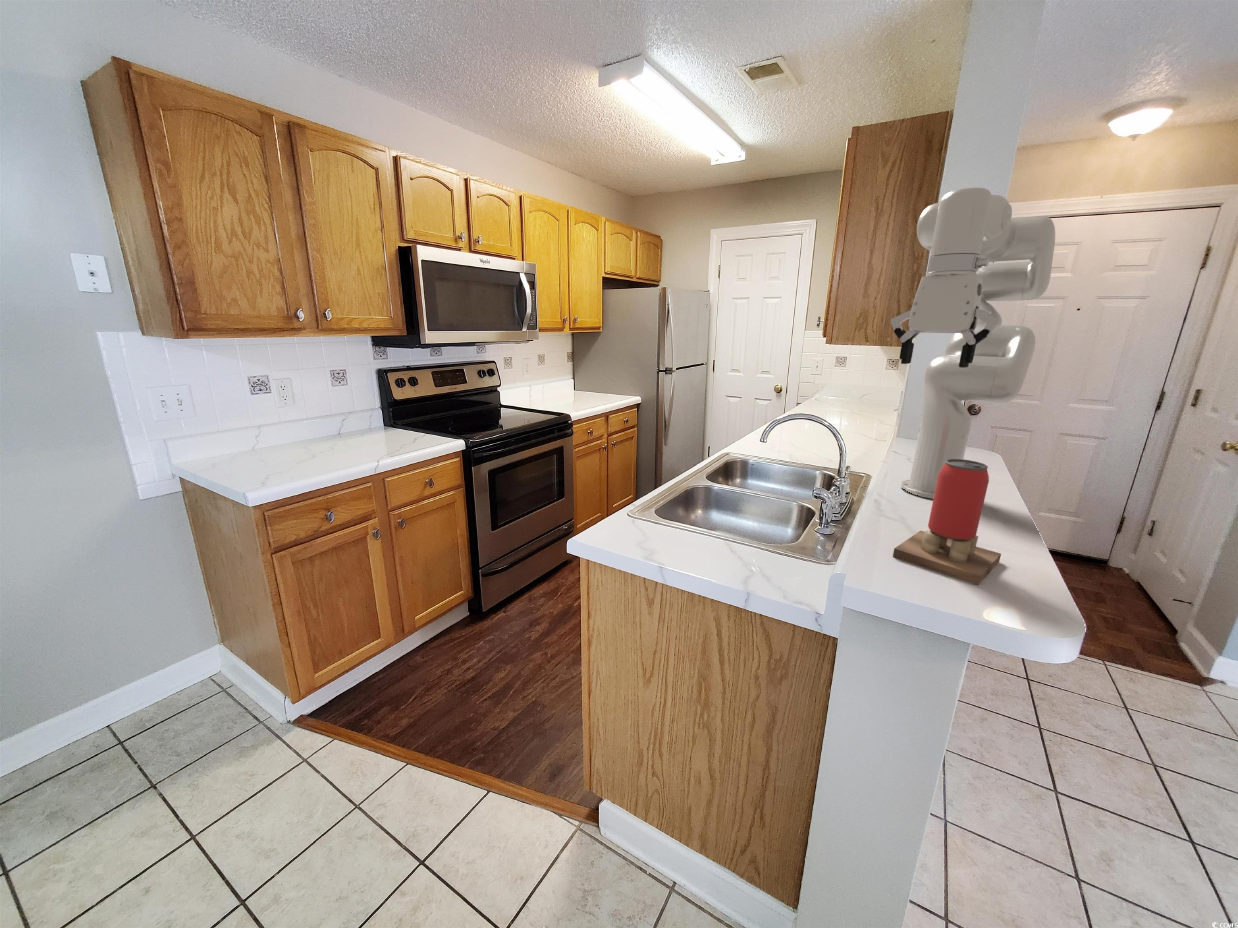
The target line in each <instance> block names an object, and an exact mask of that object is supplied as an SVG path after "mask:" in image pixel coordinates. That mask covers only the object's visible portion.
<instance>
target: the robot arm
mask: <svg viewBox="0 0 1238 928" xmlns="http://www.w3.org/2000/svg"><path fill="white" fill-rule="evenodd" d="M1012 215H1013V208H1012V205H1011V204H1010V203H1009V201H1008V200H1007V199H1006V197H1004V196H1002V195H998V194H992V192H991V191H990V190H989V189H988V188H985V187H964V188H959V189H955V190H952V191H949V192H947V193H945V194H944V195H943V196H942V198H941V199H940V201H939V202H938V203H937V202H935V203H933V204H930V205H928V206H926V208H925V209H923V211H922V212H921V214H920V216H919V218H918V220H917V224H916V235H917V240H918V242H919V243H920V245H921V246H922V247H923V248H924V249H926V250H928V251H930V255H929V260H928V263H927V269H926V275H925V276H922V277H921V279H920V282H919V284H918V288H917V290H916V293H915V296H914V299H913V303H912V306H911V309H909V310H908V311H905V312H903V313H901V314H899V315H896V316H895V317H893V318H891V319H890V324H891V327H892V329H893V333H894V335H896V337H897V338H898V339H899V341H900V343H901V345H900V352H899V360H901V361H900V365H908V364H911V363H912V358H913V353H914V348H915V347H914V346H915V343H914V342H913V340H914V339H916V338H917V337H918V335H920V334H921V333H922V334H923V333H926V334H927V333H928V334H931V333H932V334H951V335H950V338H949V340H948V342H947V344H946V348H945V355H942V356H941V355H940V356H937V357H935V358H933V359H932V360H931V361H930V362H929V363H928V365H927V366H926V369H925V373H924V400H923V406H922V407H923V408H922V414H921V419H920V423H919V424H920V425H919V430H918V435H917V439H916V440H917V441H916V446H915V451H914V457H913V461H912V467H911V472H910V477H909V479H905V480H903V481H902V482H901V485H900V488H901V487H902V488H903V489H905V490H906V491H905V490H904V491H905V492H907V491H908V492H907V493H909V492H910V493H909V494H911V493H912V494H911V495H914V496H917V495H918V497H922V498H926V499H932V500H933V499H934V494H935V489H936V484H937V479H938V475H939V472H940V470H941V468H942V467H943V466H944V464H945V461H946V460H948V459H963V460H965V454H966V449H967V444H968V440H969V436H970V431H971V425H972V417H971V415H970V413H969V411H968V409H967V408H966V406H965V405H964V404H963V401H967V402H968V401H970V402H971V401H972V402H982V403H990V404H991V403H995V404H1007V403H1010V402H1012V401H1013V400H1015V399H1016V398H1017V397H1018V395H1019V394H1020V392H1021V389H1022V387H1023V384H1024V383H1025V382H1024V381H1025V378H1026V376H1027V373H1028V370H1029V367H1030V365H1031V361H1032V359H1033V356H1034V352H1035V348H1036V347H1035V346H1036V334H1035V333H1034V331H1033V330H1032V328H1029V327H1028V326H1025V325H1023V326H1022V325H1004V324H1003V325H1002V322H1003V321H1002V320H1003V319H1002V316H1001V314H1000V313H999V312H998V311H997V309H996V308H995V307H994V306H993V305H992V304H990V303H989V302H998V301H999V302H1000V301H1002V302H1005V301H1008V302H1010V301H1011V302H1012V301H1031V300H1036V299H1038V298H1041V296H1043V295H1044V294H1045V292H1046V291H1047V289H1048V286H1049V284H1050V280H1051V276H1052V275H1051V274H1052V267H1053V262H1054V261H1053V259H1054V254H1055V253H1054V251H1055V247H1056V246H1055V245H1056V244H1055V243H1056V227H1055V224H1054V221H1053V220H1052V218H1051V217H1050V216H1047V215H1046V216H1045V215H1038V216H1028V217H1018V218H1012ZM1027 260H1028V261H1027ZM907 320H909V321H908V330H907V331H905V329H904V328H903V325H902V324H903V322H906V321H907ZM902 488H901V489H902ZM903 489H902V490H903Z"/></svg>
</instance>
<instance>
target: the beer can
mask: <svg viewBox="0 0 1238 928" xmlns="http://www.w3.org/2000/svg"><path fill="white" fill-rule="evenodd" d="M988 468H989V466H988V465H987V464H985V463H982V462H979V461H974V460H971V459H970V460H969V459H948V460H946V461H945V464H944V466H943V467H942V468H941V470H940V472H939V475H938V479H937V484H936V489H935V494H934V499H932V505H931V510H930V514H929V519H928V525H927V527H928V530H929V531H932V532H933V533H934V534H936V535H939V536H941V537H944V538H948V539H952V540H961V541H965V540H971V539H973V538H975V536H976V535H977V533H978V529H979V524H980V521H981V515H982V511H983V508H984V503H985V499H986V494H987V489H988V486H989V482H990V477H989V472H988Z"/></svg>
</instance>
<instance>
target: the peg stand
mask: <svg viewBox="0 0 1238 928" xmlns="http://www.w3.org/2000/svg"><path fill="white" fill-rule="evenodd" d="M978 539H979V536H978V535H977V534H976V536H975V538H973V539H971V540H965V541H961V540H952V539H948V538H944V537H941V536H939V535H936V534H934V533H933V532H932V531H930V530H925V531H923V530H920V531H918V532H916V533H914V534H913V535H912V536H910V537H908V539H906V540H904V541H903V542H901V543H900V544H899V545H897V546H896V547H894V548H893V553H892V557H893V558H896V559H898V560H902V561H904V562H908V563H911V564H913V565H915V566H920V567H923V568H925V569H928V570H932V571H935V572H937V573H940V574H943V575H946V576H950V577H952V578H955V579H958V580H961V581H965V582H968V583H971V584H973V585H976V586H979V585H980V584H981V583H982V582H983V580H984V579H985V578H987V576H988V575H989V574H990V573H991V571H992V570H994V569H995V567H996V566H997V565H998V564H999V563H1000V560H1001V555H1002V553H1000V552H996V551H993V550H989V549H987V548H983V547H979V546H977V544H978Z"/></svg>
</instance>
